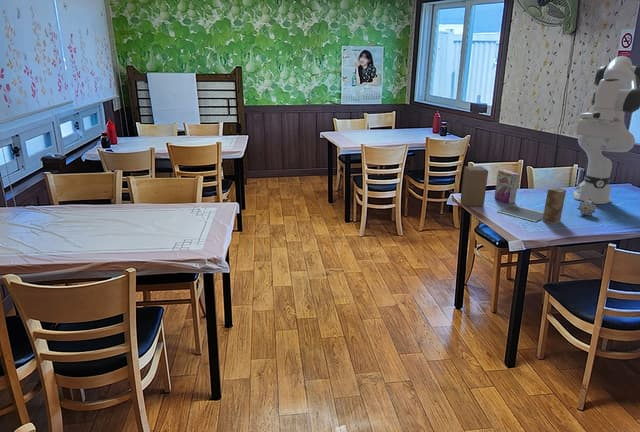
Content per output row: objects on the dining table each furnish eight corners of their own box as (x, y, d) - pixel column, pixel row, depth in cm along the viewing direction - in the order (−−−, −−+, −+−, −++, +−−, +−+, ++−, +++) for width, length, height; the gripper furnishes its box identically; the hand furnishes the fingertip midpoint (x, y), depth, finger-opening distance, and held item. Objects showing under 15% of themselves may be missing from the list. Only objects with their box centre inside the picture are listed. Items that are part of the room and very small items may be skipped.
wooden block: (477, 201, 251) (482, 165, 244) (484, 206, 242) (489, 170, 235) (459, 201, 251) (463, 165, 244) (465, 206, 241) (470, 170, 235)
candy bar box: (493, 198, 256) (497, 169, 251) (500, 197, 258) (504, 169, 252) (508, 204, 246) (512, 174, 241) (515, 203, 248) (519, 173, 243)
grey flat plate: (550, 215, 229) (550, 214, 229) (535, 222, 220) (535, 221, 219) (512, 205, 244) (512, 204, 243) (496, 212, 234) (497, 211, 234)
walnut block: (560, 221, 221) (566, 189, 216) (554, 224, 218) (561, 192, 212) (547, 218, 226) (553, 187, 220) (542, 220, 222) (548, 189, 217)
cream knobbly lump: (588, 222, 230) (602, 211, 222) (572, 216, 231) (585, 204, 222) (588, 210, 235) (602, 198, 227) (573, 203, 236) (586, 192, 228)
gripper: (615, 118, 204) (608, 149, 207) (577, 113, 200) (570, 145, 203) (627, 118, 198) (620, 150, 201) (588, 113, 194) (581, 145, 196)
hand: (595, 147), depth 202 cm, fingers open, 8 cm apart
